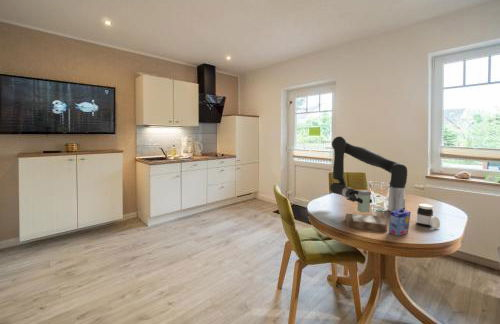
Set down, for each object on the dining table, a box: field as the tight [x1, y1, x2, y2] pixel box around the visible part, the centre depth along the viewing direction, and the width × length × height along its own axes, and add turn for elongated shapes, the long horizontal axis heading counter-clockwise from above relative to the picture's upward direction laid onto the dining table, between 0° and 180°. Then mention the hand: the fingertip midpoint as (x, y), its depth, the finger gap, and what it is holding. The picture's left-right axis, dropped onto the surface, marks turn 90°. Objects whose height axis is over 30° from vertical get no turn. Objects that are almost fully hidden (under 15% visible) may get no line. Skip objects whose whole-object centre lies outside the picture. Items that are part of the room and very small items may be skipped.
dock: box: [345, 212, 388, 232], centre depth 147 cm, size 20×14×4 cm
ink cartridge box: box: [388, 206, 411, 237], centre depth 135 cm, size 10×6×14 cm, turn 117°
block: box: [357, 189, 372, 213], centre depth 146 cm, size 5×4×12 cm
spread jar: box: [416, 203, 441, 230], centre depth 146 cm, size 12×11×12 cm
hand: (366, 201), depth 143 cm, fingers closed on block, 5 cm apart
